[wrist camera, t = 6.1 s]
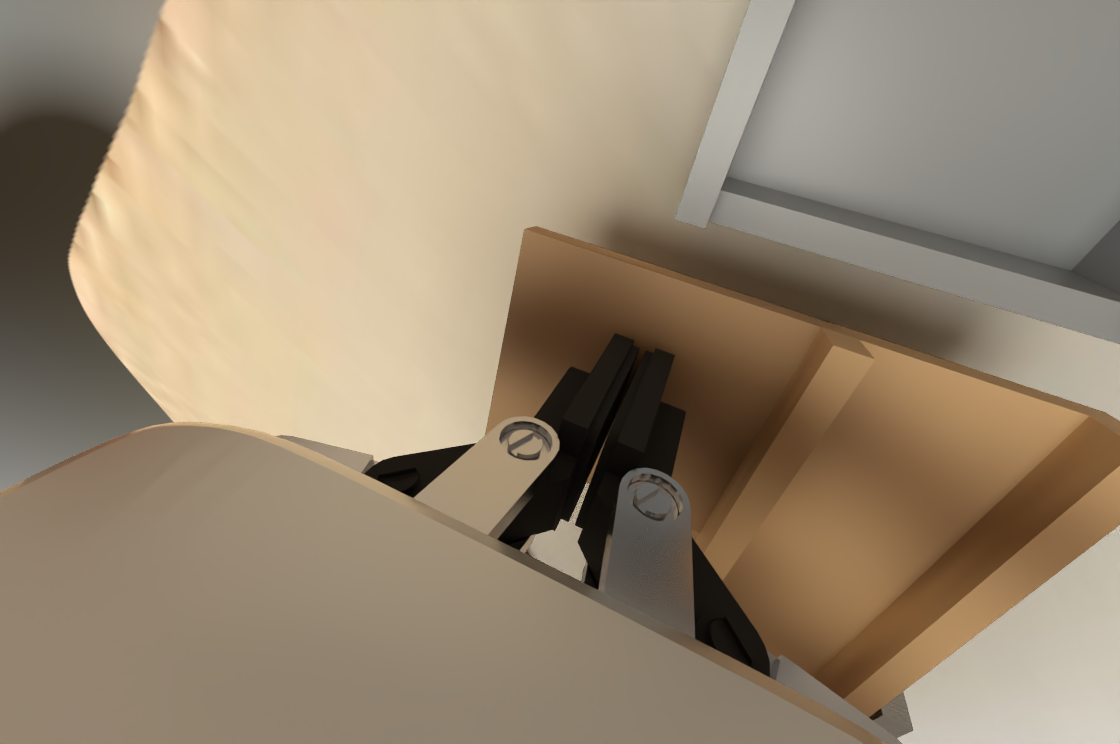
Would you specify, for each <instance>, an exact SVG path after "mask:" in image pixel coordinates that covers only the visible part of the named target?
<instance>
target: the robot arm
mask: <svg viewBox="0 0 1120 744" xmlns="http://www.w3.org/2000/svg"><path fill="white" fill-rule="evenodd" d="M633 344H634V340H633V339H630V338H627V337H625V336H622V335H619V334H616V333H615V334H614V336H613V337H612V339H611V341H610V342H609V344H608V345H607V347H606V349H605V350H604V352H603V353H602V355H601V357H600V358H599V360H598V361H597V363H596V365H595V366H594V368H593V370H592V371H591V373H588V372H585V371H583V370H580V369H577V368H575V367H570V368H569V369H568V370H567V372H566V373H565V375H564V376H563V377H562V379H561V380H560V382H559V383H558V384H557V386H556V387H555V388H554V390H553V391H552V393H551V394H550V395H549V397H548V398H547V400H546V401H545V402H544V404H543V405H542V407H541V408H540V409H539V411H538V412H537V414H536V415H535V416H534V418H532V417H526V416H519V417H512V418H509V419H506V420H504V421H503V422H501V423H499V424H498V425H497V426H496V427H495V428H493V429H492V430H491V431H490V432H489V433H488V434H486V435H485V436H484V437H483V438H482V439H481V440H480V441H478V442H477V443H475V444H469V445H463V446H457V447H451V448H445V449H439V450H433V451H427V452H421V453H415V454H409V455H403V456H397V457H392V458H389V459H385V460H382V461H381V462H377V461H374V460H373V455H369V454H365V453H361V452H356V451H352V450H348V449H344V448H340V447H335V446H331V445H327V444H323V443H319V442H315V441H310V440H306V439H302V438H298V437H294V436H283V435H280V436H272V435H269V434H266V433H263V432H259V431H255V430H250V429H246V428H241V427H236V426H230V425H220V424H211V423H202V422H178V423H166V424H160V425H154V426H149V427H146V428H143V429H139V430H135V431H133V432H130V433H127V434H124V435H122V436H119V437H116V438H114V439H111V440H109V441H107V442H104V443H102V444H99V445H97V446H95V447H93V448H90V449H88V450H86V451H84V452H81V453H79V454H77V455H75V456H73V457H70V458H68V459H66V460H64V461H62V462H60V463H58V464H55V465H53V466H51V467H49V468H47V469H45V470H43V471H41V472H39V473H37V474H35V475H33V476H31V477H29V478H26V479H25V480H23V481H21V482H19V483H17V484H15V485H13V486H11V487H9V488H7V489H5V490H3V491H1V492H0V744H902V743H901V742H900V741H899V740H898V739H897V738H895V737H894V736H893V735H892V734H891V733H889V732H888V731H886V730H885V729H884V728H882V727H881V726H880V725H878V724H877V723H875V722H874V721H873V720H871V719H870V718H869V717H867V716H866V715H864V714H863V713H862V712H860V711H859V710H858V709H856V708H855V707H853V706H852V705H851V704H849V703H848V702H847V701H845V700H844V699H843V698H841V697H840V696H838V695H837V694H836V693H834V692H833V691H832V690H830V689H829V688H827V687H826V686H825V685H823V684H822V683H821V682H819V681H818V680H816V679H815V678H814V677H812V676H811V675H810V674H808V673H807V672H805V671H804V670H803V669H801V668H800V667H799V666H797V665H796V664H794V663H793V662H792V661H790V660H789V659H788V658H786V657H785V656H783V655H782V654H781V655H780V656H779V657H778V658H776V657H775V656H773V655H772V654H771V653H769V652H768V651H767V650H766V647H765V645H764V643H763V641H762V639H761V637H760V636H759V634H758V632H757V630H756V629H755V627H754V626H753V625H752V623H751V622H750V620H749V619H748V617H747V616H746V614H745V613H744V611H743V610H742V609H741V607H740V606H739V604H738V603H737V601H736V600H735V598H734V597H733V596H732V594H731V593H730V591H729V590H728V588H727V587H726V585H725V584H724V583H723V581H722V580H721V578H720V577H719V575H718V574H717V572H716V571H715V569H714V568H713V567H712V565H711V564H710V562H709V561H708V559H707V558H706V556H705V555H704V554H703V552H702V551H701V549H700V548H699V546H698V545H697V543H696V542H695V540H694V539H693V538H692V534H691V507H690V502H689V498H688V496H687V494H686V493H685V491H684V489H683V488H682V487H681V486H680V485H679V484H678V482H677V481H676V480H674V479H673V478H672V473H673V469H674V464H675V460H676V456H677V451H678V447H679V442H680V438H681V433H682V429H683V424H684V420H685V415H686V411H685V410H682V409H679V408H677V407H674V406H672V405H669V404H667V403H664V402H662V401H661V398H662V395H663V392H664V389H665V385H666V382H667V379H668V376H669V373H670V370H671V367H672V364H673V360H674V357H675V355H674V354H671V353H668V352H665V351H663V350H660V349H657V348H655V351H654V353H653V352H650V351H647V350H646V351H645V353H644V356H643V358H642V360H641V362H640V364H639V367H638V369H637V371H636V373H635V376H634V378H633V380H632V382H631V385H630V387H629V389H628V391H627V393H626V396H625V398H624V400H623V402H622V405H621V407H620V409H619V411H618V414H617V416H616V418H615V415H616V412H617V410H618V407H619V404H620V402H621V399H622V396H623V393H624V391H625V388H626V385H627V382H628V380H629V377H630V374H631V371H632V369H633V366H634V363H635V360H636V358H637V355H638V352H639V349H640V348H639V347H636V346H634V345H633ZM614 418H615V420H614ZM613 421H614V422H613ZM612 423H613V425H612ZM611 426H612V427H611ZM610 428H611V429H610ZM608 433H609V434H608ZM607 435H608V436H607ZM606 437H607V439H606ZM605 440H606V441H605ZM604 442H605V444H604ZM603 444H604V446H603ZM602 446H603V449H602ZM601 449H602V452H601V455H600V457H599V460H598V463H597V466H596V468H595V471H594V474H593V477H592V479H591V482H590V485H589V488H588V490H587V493H586V496H585V499H584V501H583V504H582V507H581V510H580V512H579V515H578V518H577V521H576V523H575V525H576V526H578V527H580V528H582V529H583V530H582V532H581V535H580V537H579V540H578V544H579V546H580V548H581V550H582V552H583V555H584V557H585V559H586V564H585V567H584V569H583V574H582V579H581V581H579V580H577V579H575V578H573V577H571V576H569V575H567V574H565V573H563V572H561V571H559V570H557V569H555V568H553V567H551V566H549V565H547V564H545V563H543V562H541V561H539V560H537V559H535V558H533V557H531V556H529V555H527V554H525V552H526V550H527V549H528V548H529V546H530V545H531V544H532V542H533V540H534V538H535V535H536V534H539V533H542V532H546V531H549V530H554V531H555V530H556V528H557V525H558V523H559V521H560V519H563V520H565V521H567V522H569V520H570V518H571V515H572V513H573V511H574V509H575V506H576V504H577V502H578V500H579V498H580V495H581V493H582V491H583V489H584V486H585V484H586V482H587V480H588V478H589V475H590V473H591V471H592V469H593V466H594V464H595V462H596V460H597V457H598V455H599V453H600V451H601Z"/></svg>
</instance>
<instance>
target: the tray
mask: <svg viewBox="0 0 1120 744" xmlns="http://www.w3.org/2000/svg"><path fill="white" fill-rule="evenodd" d="M675 220H678V221H681V222H685V223H688V224H691V225H695V226H698V227H701V228H706V226H707V223H708V222H711V223H715V224H718V225H721V226H725V227H728V228H732V229H735V230H738V231H742V232H745V233H748V234H752V235H755V236H758V237H762V238H765V239H768V240H772V241H775V242H779V243H782V244H785V245H789V246H792V247H795V248H799V249H802V250H805V251H809V252H812V253H815V254H819V255H822V256H826V257H829V258H832V259H836V260H839V261H842V262H846V263H849V264H852V265H856V266H859V267H862V268H866V269H869V270H872V271H876V272H879V273H883V274H886V275H889V276H893V277H896V278H899V279H903V280H906V281H909V282H913V283H916V284H919V285H923V286H926V287H930V288H933V289H936V290H940V291H943V292H946V293H950V294H953V295H956V296H960V297H963V298H966V299H970V300H973V301H977V302H980V303H983V304H987V305H990V306H993V307H997V308H1000V309H1003V310H1007V311H1010V312H1013V313H1017V314H1020V315H1024V316H1027V317H1030V318H1034V319H1037V320H1040V321H1044V322H1047V323H1050V324H1054V325H1057V326H1060V327H1064V328H1067V329H1071V330H1074V331H1077V332H1081V333H1084V334H1087V335H1091V336H1094V337H1097V338H1101V339H1104V340H1107V341H1111V342H1114V343H1117V344H1120V0H750V3H749V6H748V9H747V12H746V14H745V17H744V20H743V23H742V26H741V29H740V32H739V35H738V37H737V40H736V43H735V46H734V49H733V52H732V55H731V58H730V60H729V63H728V66H727V69H726V72H725V75H724V78H723V81H722V83H721V86H720V89H719V92H718V95H717V98H716V101H715V104H714V106H713V109H712V112H711V115H710V118H709V121H708V124H707V127H706V129H705V132H704V135H703V138H702V141H701V144H700V147H699V150H698V152H697V155H696V158H695V161H694V164H693V167H692V170H691V173H690V175H689V178H688V181H687V184H686V187H685V190H684V193H683V196H682V198H681V201H680V204H679V207H678V210H677V213H676V216H675Z"/></svg>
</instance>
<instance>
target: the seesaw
mask: <svg viewBox="0 0 1120 744" xmlns="http://www.w3.org/2000/svg"><path fill="white" fill-rule="evenodd" d="M615 333H616V334H619V335H622V336H625V337H627V338H630V339H633V340H634V344H633V345H634V346H636V347H639V348H640V349H639V352H638V355H637V358H636V360H635V363H634V366H633V369H632V371H631V374H630V377H629V380H628V382H627V385H626V388H625V391H624V393H623V396H622V399H621V402H620V404H619V407H618V410H617V412H616V415H615V418H616V416H617V414H618V411H619V409H620V407H621V405H622V402H623V400H624V398H625V396H626V393H627V391H628V389H629V387H630V385H631V382H632V380H633V378H634V376H635V373H636V371H637V369H638V367H639V364H640V362H641V360H642V358H643V356H644V353H645V351H646V350H647V351H650V352H653V353H654V351H655V348H657V349H660V350H663V351H665V352H668V353H671V354H674V355H675V357H674V360H673V364H672V367H671V370H670V373H669V376H668V379H667V382H666V385H665V389H664V392H663V395H662V398H661V401H662V402H664V403H667V404H669V405H672V406H674V407H677V408H679V409H682V410H685V411H686V415H685V420H684V424H683V429H682V433H681V438H680V442H679V447H678V451H677V456H676V460H675V464H674V469H673V473H672V478H673V479H674V480H676V481H677V482H678V484H679V485H680V486H681V487H682V488H683V489H684V491H685V493H686V494H687V496H688V498H689V502H690V507H691V529H692V532H691V534H692V538H693V539H694V540H695V542H696V543H697V545H698V546H699V548H700V549H701V551H702V552H703V554H704V555H705V556H706V558H707V559H708V561H709V562H710V564H711V565H712V567H713V568H714V569H715V571H716V572H717V574H718V575H719V577H720V578H721V580H722V581H723V583H724V584H725V585H726V587H727V588H728V590H729V591H730V593H731V594H732V596H733V597H734V598H735V600H736V601H737V603H738V604H739V606H740V607H741V609H742V610H743V611H744V613H745V614H746V616H747V617H748V619H749V620H750V622H751V623H752V625H753V626H754V627H755V629H756V630H757V632H758V634H759V636H760V637H761V639H762V641H763V643H764V645H765V647H766V650H767V651H768V652H769V653H771V654H772V655H773V656H775V657H776V658H778V657H779V656H780V655H781V654H782V655H783V656H785V657H786V658H788V659H789V660H790V661H792V662H793V663H794V664H796V665H797V666H799V667H800V668H801V669H803V670H804V671H805V672H807V673H808V674H810V675H811V676H812V677H814V678H815V679H816V680H818V681H819V682H821V683H822V684H823V685H825V686H826V687H827V688H829V689H830V690H832V691H833V692H834V693H836V694H837V695H838V696H840V697H841V698H843V699H844V700H845V701H847V702H848V703H849V704H851V705H852V706H853V707H855V708H856V709H858V710H859V711H860V712H862V713H863V714H864V715H866V716H867V717H870V716H872V715H873V714H874V713H875V712H877V711H878V710H879V709H881V708H882V707H883V706H885V705H886V704H887V703H888V702H890V701H891V700H892V699H894V698H895V697H896V696H898V695H899V694H900V693H901V692H903V691H904V690H905V689H907V688H908V687H909V686H911V685H912V684H913V683H914V682H916V681H917V680H918V679H920V678H921V677H922V676H924V675H925V674H926V673H928V672H929V671H930V670H931V669H933V668H934V667H935V666H937V665H938V664H939V663H941V662H942V661H943V660H944V659H946V658H947V657H948V656H950V655H951V654H952V653H954V652H955V651H956V650H957V649H959V648H960V647H961V646H963V645H964V644H965V643H967V642H968V641H969V640H970V639H972V638H973V637H974V636H976V635H977V634H978V633H980V632H981V631H982V630H983V629H985V628H986V627H987V626H989V625H990V624H991V623H993V622H994V621H995V620H996V619H998V618H999V617H1000V616H1002V615H1003V614H1004V613H1006V612H1007V611H1008V610H1009V609H1011V608H1012V607H1013V606H1015V605H1016V604H1017V603H1019V602H1020V601H1021V600H1022V599H1024V598H1025V597H1026V596H1028V595H1029V594H1030V593H1032V592H1033V591H1034V590H1036V589H1037V588H1038V587H1039V586H1041V585H1042V584H1043V583H1045V582H1046V581H1047V580H1049V579H1050V578H1051V577H1052V576H1054V575H1055V574H1056V573H1058V572H1059V571H1060V570H1062V569H1063V568H1064V567H1065V566H1067V565H1068V564H1069V563H1071V562H1072V561H1073V560H1075V559H1076V558H1077V557H1078V556H1080V555H1081V554H1082V553H1084V552H1085V551H1086V550H1088V549H1089V548H1090V547H1091V546H1093V545H1094V544H1095V543H1097V542H1098V541H1099V540H1101V539H1102V538H1103V537H1104V536H1106V535H1107V534H1108V533H1110V532H1111V531H1112V530H1114V529H1115V528H1116V527H1117V526H1119V525H1120V421H1118V420H1117V419H1115V418H1113V417H1112V416H1110V415H1109V414H1107V413H1105V412H1102V411H1099V410H1096V409H1093V408H1090V407H1087V406H1084V405H1081V404H1078V403H1075V402H1072V401H1069V400H1066V399H1063V398H1059V397H1056V396H1053V395H1050V394H1047V393H1044V392H1041V391H1038V390H1035V389H1032V388H1029V387H1026V386H1023V385H1020V384H1017V383H1014V382H1011V381H1008V380H1005V379H1001V378H998V377H995V376H992V375H989V374H986V373H983V372H980V371H977V370H974V369H971V368H968V367H965V366H962V365H959V364H956V363H953V362H950V361H946V360H943V359H940V358H937V357H934V356H931V355H928V354H925V353H922V352H919V351H916V350H913V349H910V348H907V347H904V346H901V345H898V344H895V343H891V342H888V341H885V340H882V339H879V338H876V337H873V336H870V335H867V334H864V333H861V332H858V331H855V330H852V329H849V328H846V327H843V326H840V325H836V324H833V323H830V322H827V321H824V320H821V319H818V318H815V317H812V316H809V315H806V314H803V313H800V312H797V311H794V310H791V309H788V308H785V307H781V306H778V305H775V304H772V303H769V302H766V301H763V300H760V299H757V298H754V297H751V296H748V295H745V294H742V293H739V292H736V291H733V290H730V289H727V288H723V287H720V286H717V285H714V284H711V283H708V282H705V281H702V280H699V279H696V278H693V277H690V276H687V275H684V274H681V273H678V272H675V271H672V270H668V269H665V268H662V267H659V266H656V265H653V264H650V263H647V262H644V261H641V260H638V259H635V258H632V257H629V256H626V255H623V254H620V253H617V252H613V251H610V250H607V249H604V248H601V247H598V246H595V245H592V244H589V243H586V242H583V241H580V240H577V239H574V238H571V237H568V236H565V235H562V234H558V233H555V232H552V231H549V230H546V229H543V228H540V227H537V226H536V227H531V228H527V229H524V234H523V240H522V245H521V250H520V255H519V260H518V266H517V271H516V276H515V281H514V287H513V292H512V297H511V302H510V308H509V313H508V318H507V323H506V328H505V334H504V339H503V344H502V349H501V355H500V360H499V365H498V370H497V376H496V381H495V386H494V391H493V396H492V402H491V407H490V412H489V417H488V423H487V428H486V433H485V435H486V434H488V433H489V432H490V431H491V430H492V429H493V428H495V427H496V426H497V425H498V424H499V423H501V422H503V421H504V420H506V419H509V418H512V417H519V416H526V417H532V418H534V416H535V415H536V414H537V412H538V411H539V409H540V408H541V407H542V405H543V404H544V402H545V401H546V400H547V398H548V397H549V395H550V394H551V393H552V391H553V390H554V388H555V387H556V386H557V384H558V383H559V382H560V380H561V379H562V377H563V376H564V375H565V373H566V372H567V370H568V369H569V368H570V367H575V368H577V369H580V370H583V371H585V372H588V373H591V371H592V370H593V368H594V366H595V365H596V363H597V361H598V360H599V358H600V357H601V355H602V353H603V352H604V350H605V349H606V347H607V345H608V344H609V342H610V341H611V339H612V337H613V336H614V334H615ZM615 418H614V420H615ZM613 422H614V421H613ZM612 425H613V423H612ZM611 427H612V426H611ZM610 429H611V428H610ZM608 434H609V433H608ZM607 436H608V435H607ZM606 439H607V437H606ZM605 441H606V440H605ZM604 444H605V442H604ZM604 444H603V446H604ZM603 446H602V449H603ZM602 449H601V451H600V453H599V455H598V457H597V460H596V462H595V464H594V466H593V469H592V471H591V473H590V475H589V478H588V480H587V483H590V482H591V479H592V477H593V474H594V471H595V468H596V466H597V463H598V460H599V457H600V455H601V452H602Z"/></svg>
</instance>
